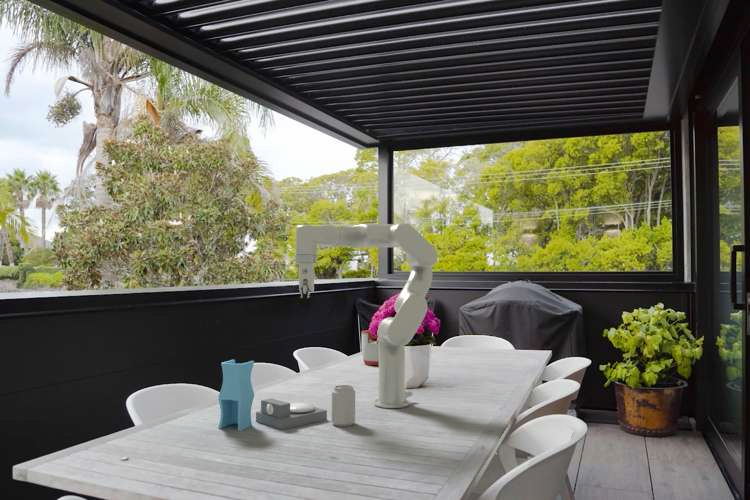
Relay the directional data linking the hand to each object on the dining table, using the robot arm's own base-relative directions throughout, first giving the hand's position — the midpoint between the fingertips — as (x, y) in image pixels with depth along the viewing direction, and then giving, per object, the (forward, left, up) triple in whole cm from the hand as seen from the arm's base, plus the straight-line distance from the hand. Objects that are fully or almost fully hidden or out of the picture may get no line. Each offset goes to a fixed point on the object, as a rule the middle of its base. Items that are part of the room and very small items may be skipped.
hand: (305, 308), depth 213 cm
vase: (+29, +3, -35) cm, 46 cm away
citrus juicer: (-90, -53, -35) cm, 110 cm away
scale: (+12, +9, -35) cm, 38 cm away
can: (+3, +24, -35) cm, 43 cm away
